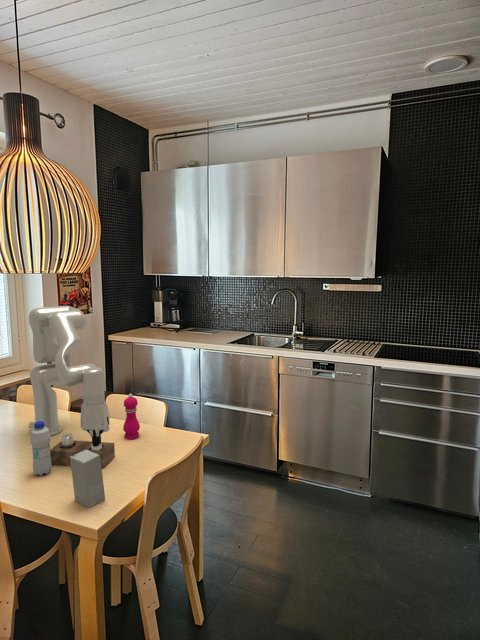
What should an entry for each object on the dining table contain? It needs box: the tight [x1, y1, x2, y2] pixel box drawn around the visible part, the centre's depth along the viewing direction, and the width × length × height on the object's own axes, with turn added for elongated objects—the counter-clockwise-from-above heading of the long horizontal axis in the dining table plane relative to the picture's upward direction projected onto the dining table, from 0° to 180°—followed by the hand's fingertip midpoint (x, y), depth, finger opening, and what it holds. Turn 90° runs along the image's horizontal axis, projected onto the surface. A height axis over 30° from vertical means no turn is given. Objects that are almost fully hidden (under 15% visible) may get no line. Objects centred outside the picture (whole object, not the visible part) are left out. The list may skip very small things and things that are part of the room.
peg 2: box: [91, 443, 102, 451], centre depth 164 cm, size 4×4×6 cm
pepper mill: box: [122, 393, 141, 441], centre depth 187 cm, size 7×7×20 cm
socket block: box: [50, 439, 116, 470], centre depth 165 cm, size 22×10×6 cm, turn 82°
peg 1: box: [61, 433, 74, 449], centre depth 165 cm, size 4×4×6 cm
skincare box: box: [70, 450, 106, 508], centre depth 137 cm, size 8×7×16 cm
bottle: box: [30, 421, 53, 477], centre depth 155 cm, size 7×7×20 cm
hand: (96, 445), depth 164 cm, fingers closed
